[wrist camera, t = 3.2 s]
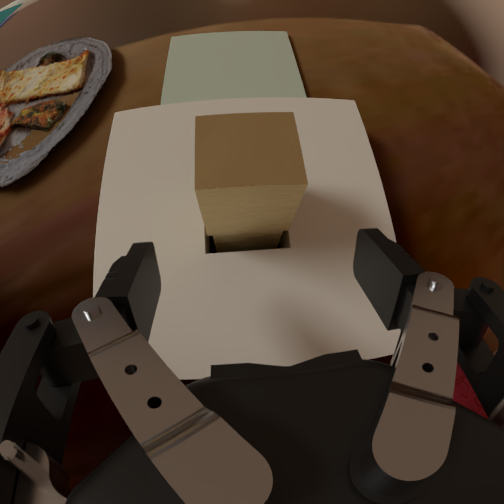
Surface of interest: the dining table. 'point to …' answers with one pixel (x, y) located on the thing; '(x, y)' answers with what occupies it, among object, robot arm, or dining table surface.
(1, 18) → the place mat
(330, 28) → the dining table surface
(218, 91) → the green pad
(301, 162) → the tan rectangular block
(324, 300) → the cover plate
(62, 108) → the food plate
